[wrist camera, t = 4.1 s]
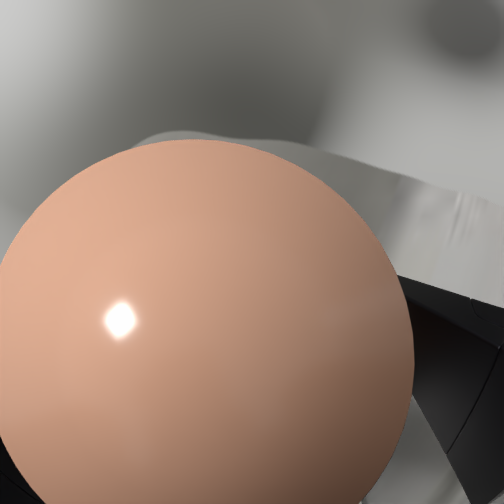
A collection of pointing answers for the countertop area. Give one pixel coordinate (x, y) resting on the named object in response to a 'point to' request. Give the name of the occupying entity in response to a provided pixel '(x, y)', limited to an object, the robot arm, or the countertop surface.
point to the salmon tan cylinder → (201, 335)
